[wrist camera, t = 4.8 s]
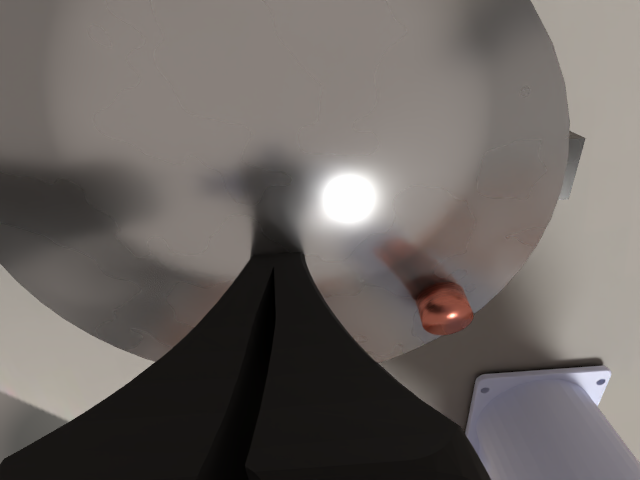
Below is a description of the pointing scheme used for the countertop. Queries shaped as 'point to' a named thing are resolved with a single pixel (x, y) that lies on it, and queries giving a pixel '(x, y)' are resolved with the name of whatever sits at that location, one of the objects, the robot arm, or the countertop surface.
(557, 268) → the countertop surface
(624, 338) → the countertop surface
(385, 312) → the cooker lid
